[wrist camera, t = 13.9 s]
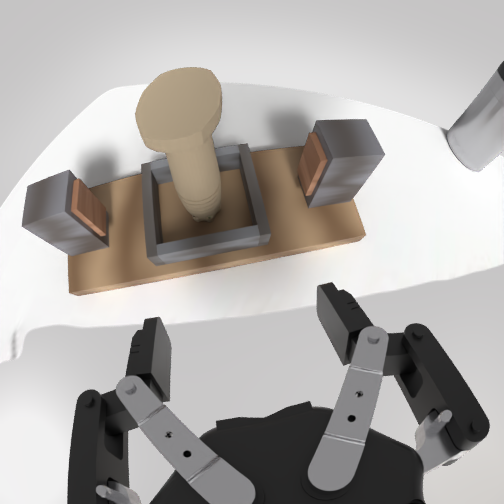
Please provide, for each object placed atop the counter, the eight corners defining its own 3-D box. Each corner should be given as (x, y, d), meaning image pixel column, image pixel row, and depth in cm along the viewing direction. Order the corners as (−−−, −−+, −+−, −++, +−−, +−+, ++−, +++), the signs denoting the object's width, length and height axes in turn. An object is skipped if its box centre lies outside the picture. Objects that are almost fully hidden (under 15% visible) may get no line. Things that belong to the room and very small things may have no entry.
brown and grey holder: (326, 153, 33) (353, 90, 23) (359, 241, 30) (408, 196, 19) (78, 201, 30) (31, 153, 20) (78, 296, 27) (15, 273, 16)
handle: (179, 239, 27) (124, 143, 13) (184, 182, 29) (150, 71, 15) (228, 239, 27) (216, 138, 13) (229, 182, 29) (224, 65, 15)
